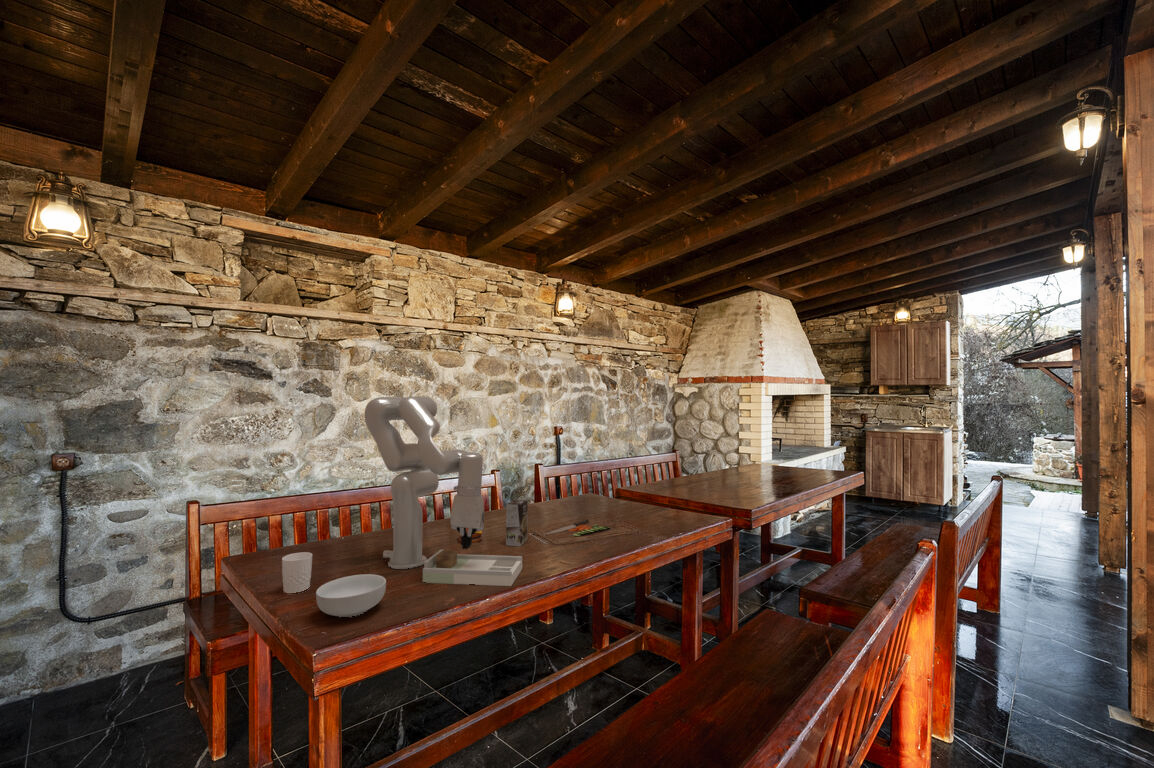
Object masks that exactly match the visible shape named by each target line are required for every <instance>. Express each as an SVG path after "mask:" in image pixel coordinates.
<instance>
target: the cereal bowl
mask: <svg viewBox="0 0 1154 768" xmlns="http://www.w3.org/2000/svg"><path fill="white" fill-rule="evenodd" d="M386 589H387V580H386V578H385V577H384V576H382V575H378V574H371V573H369V574H368V573H367V574H355V575H354V574H353V575H348V576H343V577H341V578H337V579H334V580H331V581H328V582H326V583H323V584H322V585H321V586H319V587H318V588H317V589H316V592H315V597H316V598H315V599H316V605H317V607H318V608H319V610H320V611H321V612H323V613H324V614H327V615H329V616H335V617H337V616H338V617H337V618H341V617H349V618H353V617H352V616H355V617H358V616H361V615H363V614H365V613H366V612H368V610H370V609H372V608H373V607H375V606H376V605H378V604H379V602H381V601H382V599H383V598H384V596H385V593H386ZM364 612H365V613H364ZM360 614H361V615H360ZM357 615H358V616H357Z"/></svg>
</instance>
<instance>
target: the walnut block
mask: <svg viewBox="0 0 1154 768" xmlns="http://www.w3.org/2000/svg"><path fill="white" fill-rule="evenodd" d="M457 554H458V551H457V550H447V549H445V550H442V551H441V552H440V553H438V554H437V555H436V568H452V567H453V566H454V565H456V564H457Z"/></svg>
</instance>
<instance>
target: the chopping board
mask: <svg viewBox="0 0 1154 768" xmlns="http://www.w3.org/2000/svg"><path fill="white" fill-rule="evenodd" d="M603 519H604V518H599V519H591V520H590V519H584V520H581V521H576V522H570V523H562V524H555V525H548V526H542V527H535V528H532V529H531V532H533V533H531V532H528V535H529V534H530V535H529V536H531V535H532V534H534V533H535V535H532V536H533V537H532V536H531V537H532V538H534V537H535V538H534V539H535V540H537V539H538V540H537V541H539V540H540V541H539V542H541V543H542V542H543V543H542V544H544V545H547V543H546V542H550V543H549V544H551V543H552V544H551V545H553V544H554V546H556V545H563V546H568V545H567V544H570V545H575V544H574V543H576V544H580V543H579V542H582V543H586V542H585V541H588V542H591V541H590V540H594V541H596V540H595V539H599V538H603V537H609V536H614V535H620V534H626V533H632V532H636V531H638V528H637V529H634V528H632V527H629V526H627V525H624V524H621V525H623V526H626V527H629V528H632V529H633V530H634V531H631V530H630V529H626V528H625V529H624V527H622V528H621V526H620V525H619V527H620V529H621V530H619V528H616V527H613V524H614V523H609V524H608V523H606V522H607V520H605V522H603V521H604V520H603ZM597 520H601V521H597ZM591 521H594V522H591ZM609 522H610V521H609ZM605 523H606V524H605ZM616 523H617V522H616ZM616 526H617V527H618V525H616ZM617 529H618V530H617ZM536 530H538V532H537V531H536ZM625 531H631V532H625ZM539 532H540V533H539ZM618 532H624V533H618ZM541 533H542V534H541ZM613 533H618V534H613ZM536 534H537V535H539V536H540V537H539V536H537V535H536ZM608 534H612V535H608ZM544 535H545V536H544ZM603 535H606V536H603ZM546 536H547V537H546ZM599 536H600V537H599ZM541 537H542V538H541ZM542 539H543V540H542ZM544 539H545V540H544ZM551 539H552V540H551ZM546 540H547V541H546ZM553 540H554V541H553Z"/></svg>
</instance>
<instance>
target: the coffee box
mask: <svg viewBox="0 0 1154 768" xmlns="http://www.w3.org/2000/svg"><path fill="white" fill-rule="evenodd" d="M528 502H529V501H528V500H526V499H525V500H523V499H518V500H515V499H513V500H512V501H510V502H508V503H506V505H505V507H506V508H505V546H509V547H510V546H512V547H522V545H524V544H525V543H526V542H527V541H528V535H529V532H528V530H529V529H528V528H529V527H528V520H529V519H528V517H529V516H528V509H529V508H528Z"/></svg>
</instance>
